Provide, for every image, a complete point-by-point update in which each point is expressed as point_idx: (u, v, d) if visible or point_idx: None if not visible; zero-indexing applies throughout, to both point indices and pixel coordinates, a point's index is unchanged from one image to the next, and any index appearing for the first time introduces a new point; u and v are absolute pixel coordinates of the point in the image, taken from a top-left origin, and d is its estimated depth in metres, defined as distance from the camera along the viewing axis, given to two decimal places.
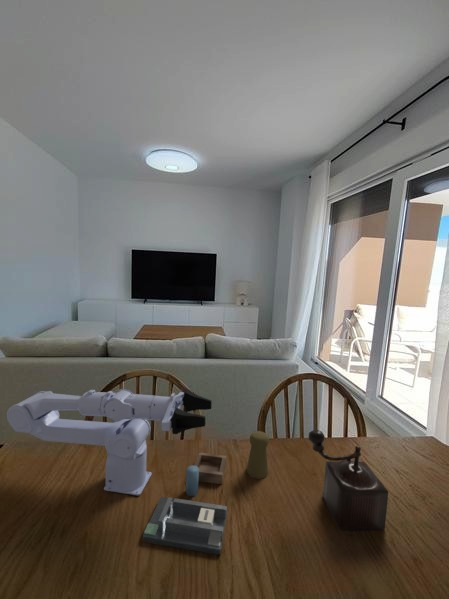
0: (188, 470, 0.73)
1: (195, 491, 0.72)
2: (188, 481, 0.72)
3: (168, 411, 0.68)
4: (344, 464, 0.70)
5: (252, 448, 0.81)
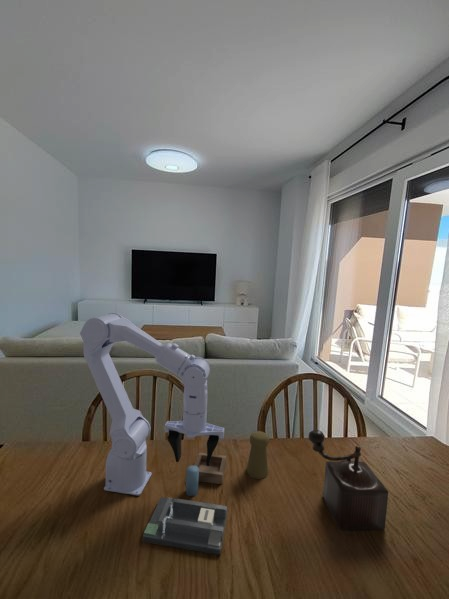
0: (188, 470, 0.73)
1: (195, 491, 0.72)
2: (188, 481, 0.72)
3: (176, 430, 0.71)
4: (344, 464, 0.70)
5: (252, 448, 0.81)
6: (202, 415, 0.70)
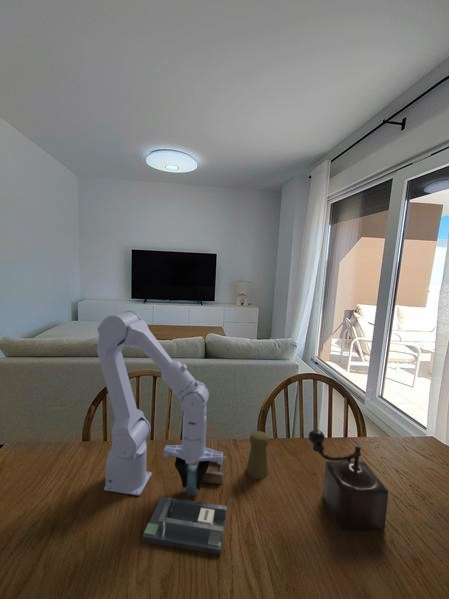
0: (188, 470, 0.73)
1: (195, 491, 0.72)
2: (188, 481, 0.72)
3: (175, 455, 0.71)
4: (344, 464, 0.70)
5: (252, 448, 0.81)
6: (201, 441, 0.70)
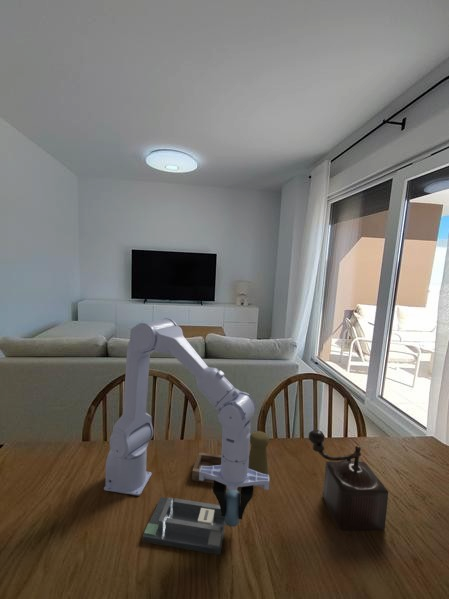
0: (228, 496, 0.61)
1: (237, 520, 0.61)
2: (229, 509, 0.61)
3: (213, 479, 0.60)
4: (344, 464, 0.70)
5: (252, 448, 0.81)
6: (245, 462, 0.59)
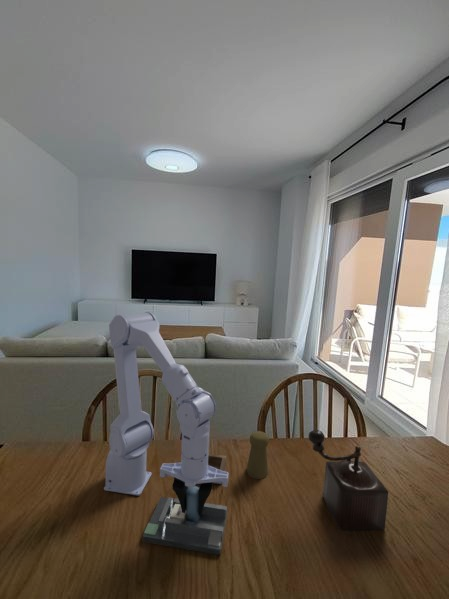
0: (188, 492, 0.62)
1: (197, 516, 0.62)
2: (189, 505, 0.62)
3: (173, 476, 0.61)
4: (344, 464, 0.70)
5: (252, 448, 0.81)
6: (203, 459, 0.60)
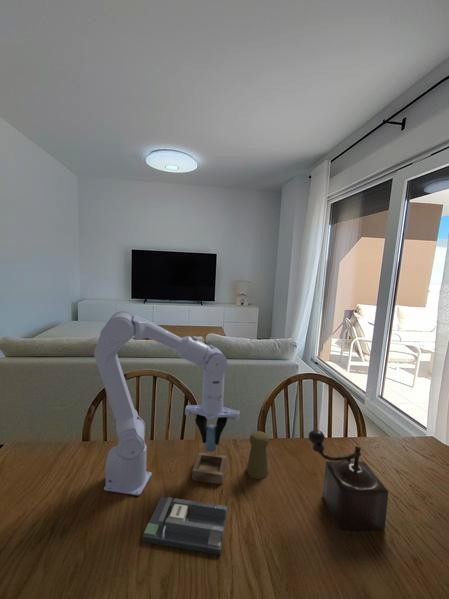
0: (207, 428, 0.79)
1: (214, 447, 0.79)
2: (208, 438, 0.78)
3: (196, 412, 0.78)
4: (344, 464, 0.70)
5: (252, 448, 0.81)
6: (220, 399, 0.77)
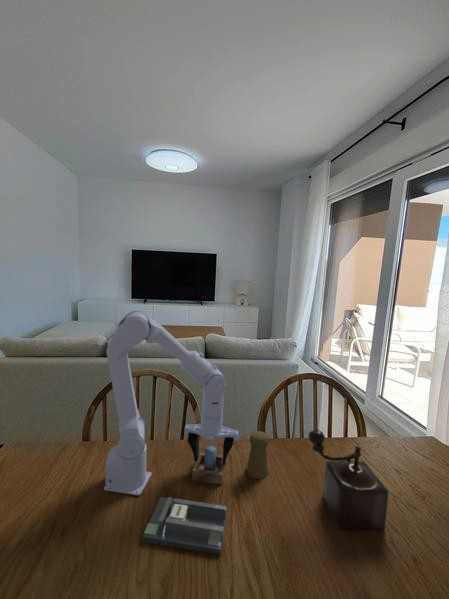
0: (207, 450, 0.80)
1: (213, 469, 0.80)
2: (207, 460, 0.79)
3: (195, 432, 0.79)
4: (344, 464, 0.70)
5: (252, 448, 0.81)
6: (219, 419, 0.78)
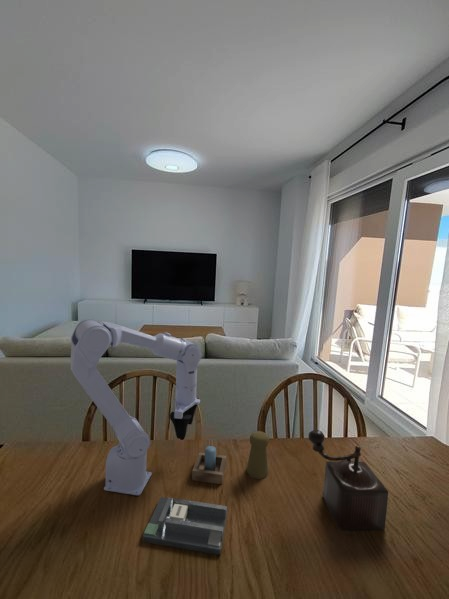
0: (206, 450, 0.80)
1: (213, 469, 0.80)
2: (207, 460, 0.79)
3: (188, 408, 0.78)
4: (344, 464, 0.70)
5: (252, 448, 0.81)
6: None
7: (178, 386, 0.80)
